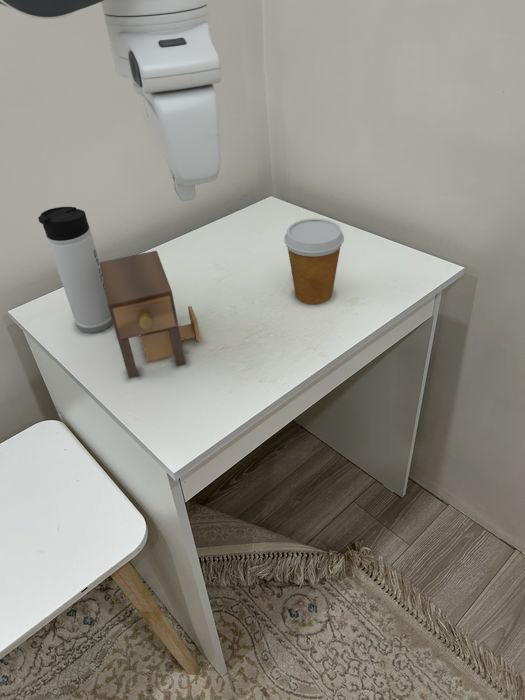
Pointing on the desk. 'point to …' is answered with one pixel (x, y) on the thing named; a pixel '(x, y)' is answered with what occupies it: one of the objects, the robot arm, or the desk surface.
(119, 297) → the drawer unit
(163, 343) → the wooden drawer
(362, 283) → the desk surface
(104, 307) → the travel mug
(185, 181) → the robot arm
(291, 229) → the disposable coffee cup
